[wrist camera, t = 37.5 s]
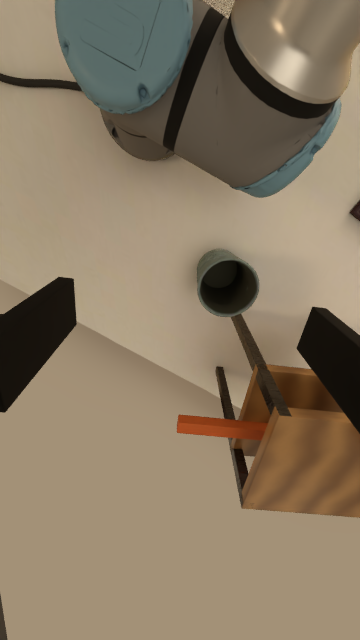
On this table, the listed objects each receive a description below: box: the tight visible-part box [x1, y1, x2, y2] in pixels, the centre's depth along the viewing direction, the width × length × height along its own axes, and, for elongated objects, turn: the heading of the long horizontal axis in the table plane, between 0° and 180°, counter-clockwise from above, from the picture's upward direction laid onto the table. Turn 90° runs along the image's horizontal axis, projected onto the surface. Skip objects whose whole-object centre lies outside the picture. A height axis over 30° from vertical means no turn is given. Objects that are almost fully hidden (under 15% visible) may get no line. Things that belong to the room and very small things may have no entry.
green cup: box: [197, 249, 259, 317], centre depth 47 cm, size 10×10×12 cm
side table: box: [216, 314, 360, 518], centre depth 46 cm, size 20×18×31 cm
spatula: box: [177, 415, 268, 441], centre depth 40 cm, size 27×6×2 cm, turn 83°
